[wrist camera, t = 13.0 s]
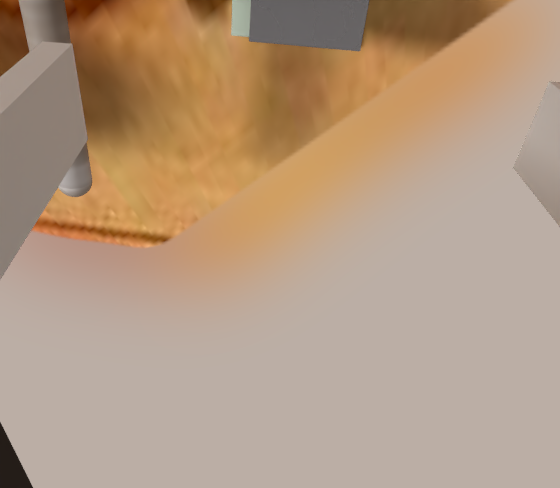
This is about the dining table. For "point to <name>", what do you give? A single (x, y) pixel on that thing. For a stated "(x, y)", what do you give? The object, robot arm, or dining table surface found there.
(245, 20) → the mat
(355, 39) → the grey slotted block
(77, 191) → the peg stand
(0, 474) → the robot arm
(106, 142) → the dining table surface
